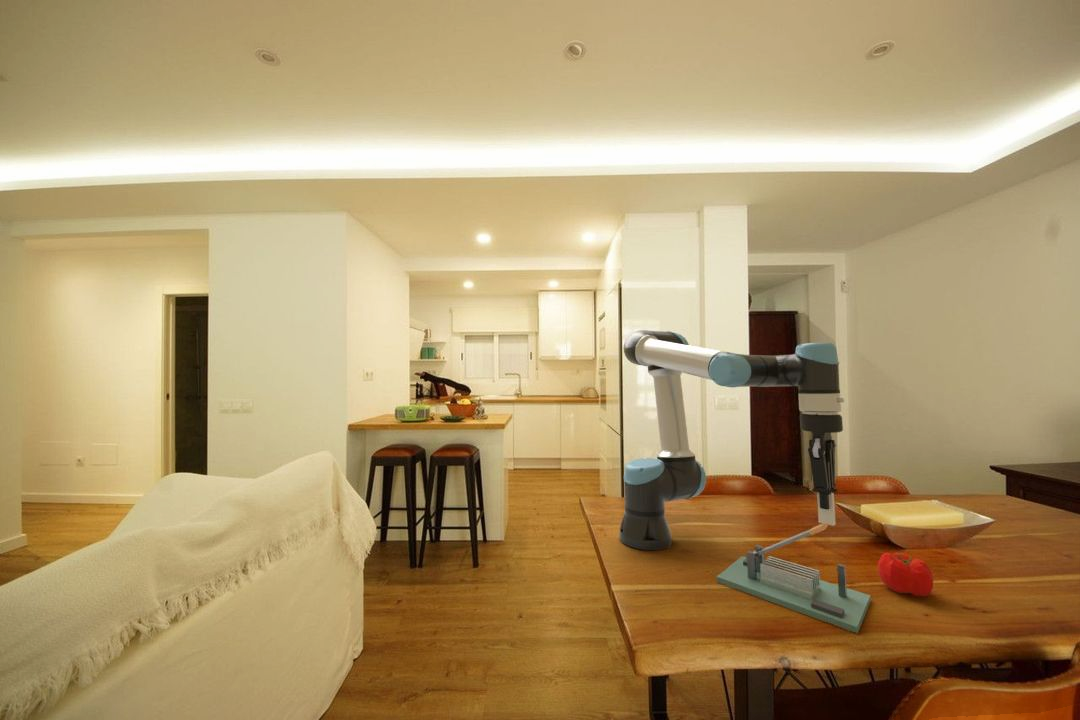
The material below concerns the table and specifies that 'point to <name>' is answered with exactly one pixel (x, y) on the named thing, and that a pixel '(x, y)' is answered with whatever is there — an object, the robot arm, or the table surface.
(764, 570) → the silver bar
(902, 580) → the tomato
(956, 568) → the table surface
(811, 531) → the silver flat strip
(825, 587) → the board
